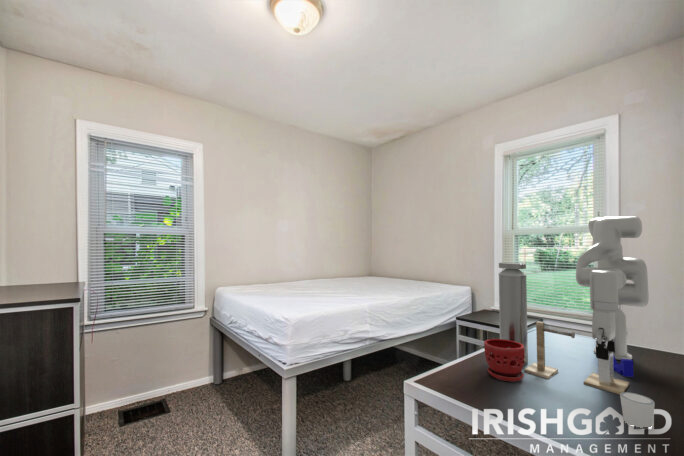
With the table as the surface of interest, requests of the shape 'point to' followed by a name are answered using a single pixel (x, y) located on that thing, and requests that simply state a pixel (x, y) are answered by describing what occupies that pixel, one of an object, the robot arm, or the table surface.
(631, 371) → the cable clip
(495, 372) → the plant pot
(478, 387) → the table surface
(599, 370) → the c link
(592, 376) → the mat
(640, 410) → the shot glass
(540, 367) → the stand
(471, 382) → the table surface
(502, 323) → the grey metal bottle
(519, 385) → the table surface
